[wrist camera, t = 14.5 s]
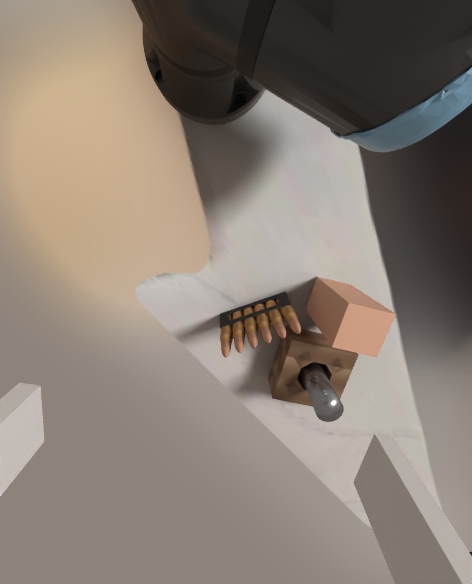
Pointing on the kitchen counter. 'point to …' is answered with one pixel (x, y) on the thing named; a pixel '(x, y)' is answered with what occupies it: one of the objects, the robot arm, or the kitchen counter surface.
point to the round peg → (321, 392)
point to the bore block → (302, 352)
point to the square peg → (349, 317)
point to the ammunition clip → (246, 314)
